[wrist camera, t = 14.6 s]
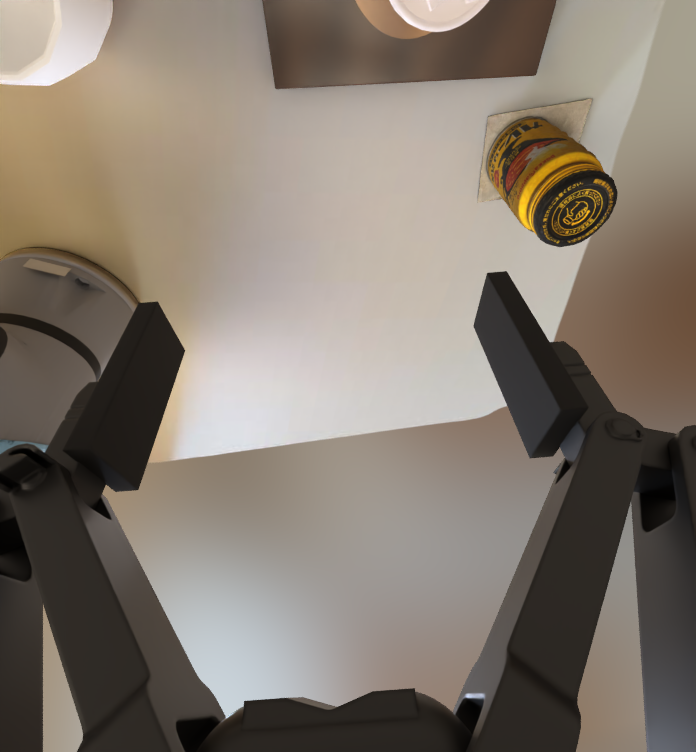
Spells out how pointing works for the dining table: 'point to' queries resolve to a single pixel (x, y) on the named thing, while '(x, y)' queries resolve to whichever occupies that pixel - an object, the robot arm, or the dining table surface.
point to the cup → (50, 38)
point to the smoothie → (437, 12)
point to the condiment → (547, 172)
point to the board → (399, 43)
